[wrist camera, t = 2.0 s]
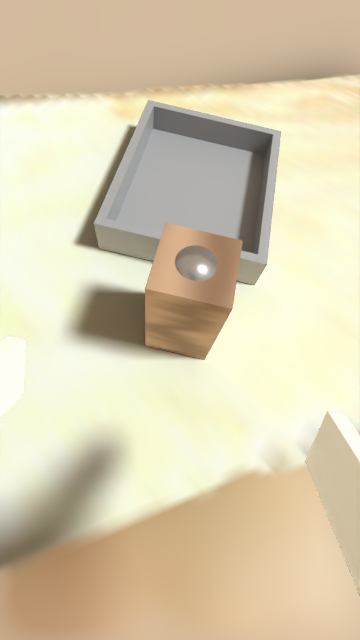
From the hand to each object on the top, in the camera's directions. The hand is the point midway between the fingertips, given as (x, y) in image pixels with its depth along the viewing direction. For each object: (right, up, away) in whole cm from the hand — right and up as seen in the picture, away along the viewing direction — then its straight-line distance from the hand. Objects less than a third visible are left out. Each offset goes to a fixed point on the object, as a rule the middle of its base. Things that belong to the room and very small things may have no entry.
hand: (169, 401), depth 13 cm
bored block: (+1, +3, +19) cm, 19 cm away
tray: (+2, +19, +26) cm, 33 cm away
